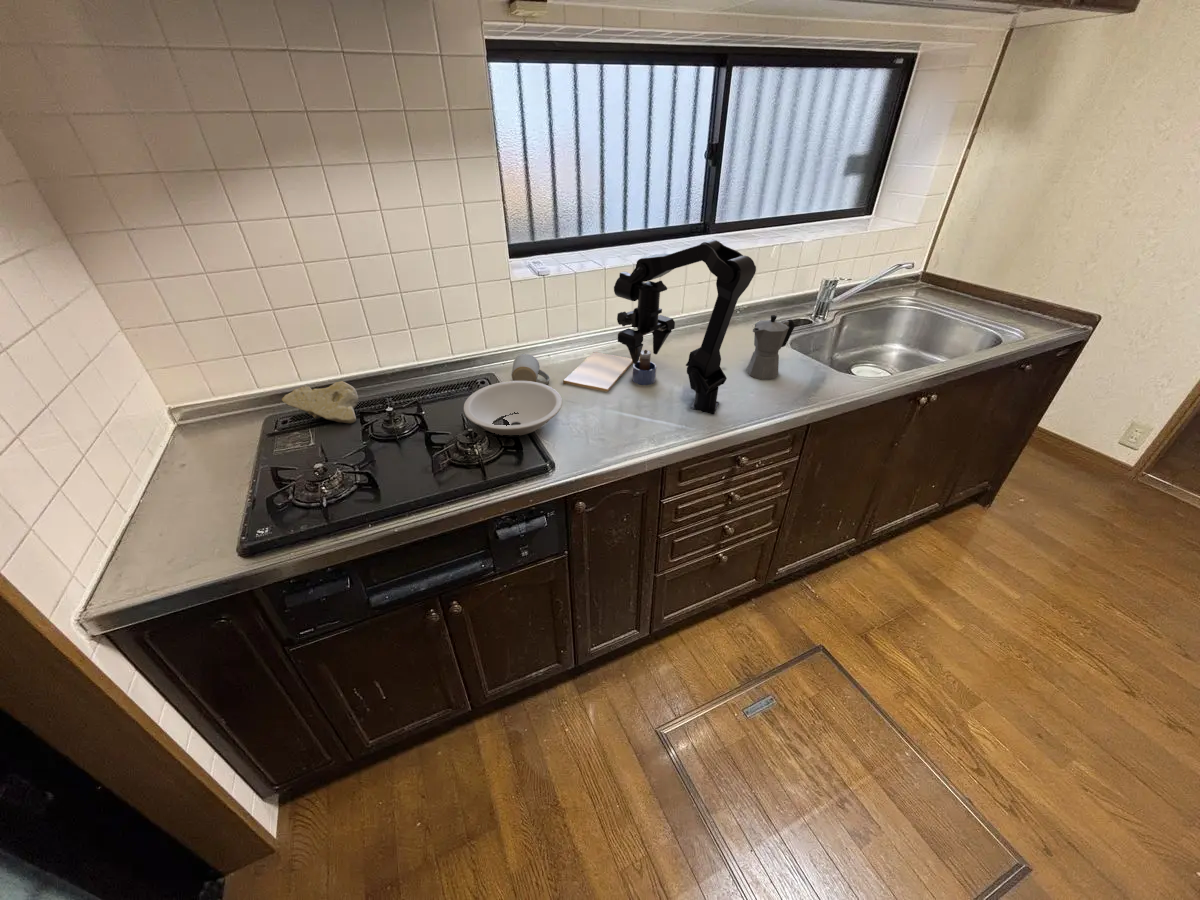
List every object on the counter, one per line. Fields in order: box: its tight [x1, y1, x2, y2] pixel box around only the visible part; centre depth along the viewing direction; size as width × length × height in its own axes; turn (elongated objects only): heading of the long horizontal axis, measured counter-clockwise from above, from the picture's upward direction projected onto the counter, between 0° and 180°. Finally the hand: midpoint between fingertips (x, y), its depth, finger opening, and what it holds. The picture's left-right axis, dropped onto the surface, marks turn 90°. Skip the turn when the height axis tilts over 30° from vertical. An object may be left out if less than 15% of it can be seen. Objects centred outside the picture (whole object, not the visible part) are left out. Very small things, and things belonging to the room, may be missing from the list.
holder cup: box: [631, 360, 658, 386], centre depth 145 cm, size 7×7×5 cm
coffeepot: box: [746, 314, 796, 381], centre depth 147 cm, size 15×9×18 cm, turn 116°
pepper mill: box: [639, 349, 652, 370], centre depth 144 cm, size 3×3×9 cm
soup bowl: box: [463, 380, 563, 436], centre depth 125 cm, size 24×24×7 cm
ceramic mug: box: [511, 353, 551, 386], centre depth 143 cm, size 11×8×8 cm
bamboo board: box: [562, 351, 634, 393], centre depth 151 cm, size 22×14×1 cm, turn 157°
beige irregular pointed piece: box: [281, 380, 359, 424], centre depth 128 cm, size 15×7×15 cm
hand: (645, 358), depth 143 cm, fingers open, 9 cm apart
